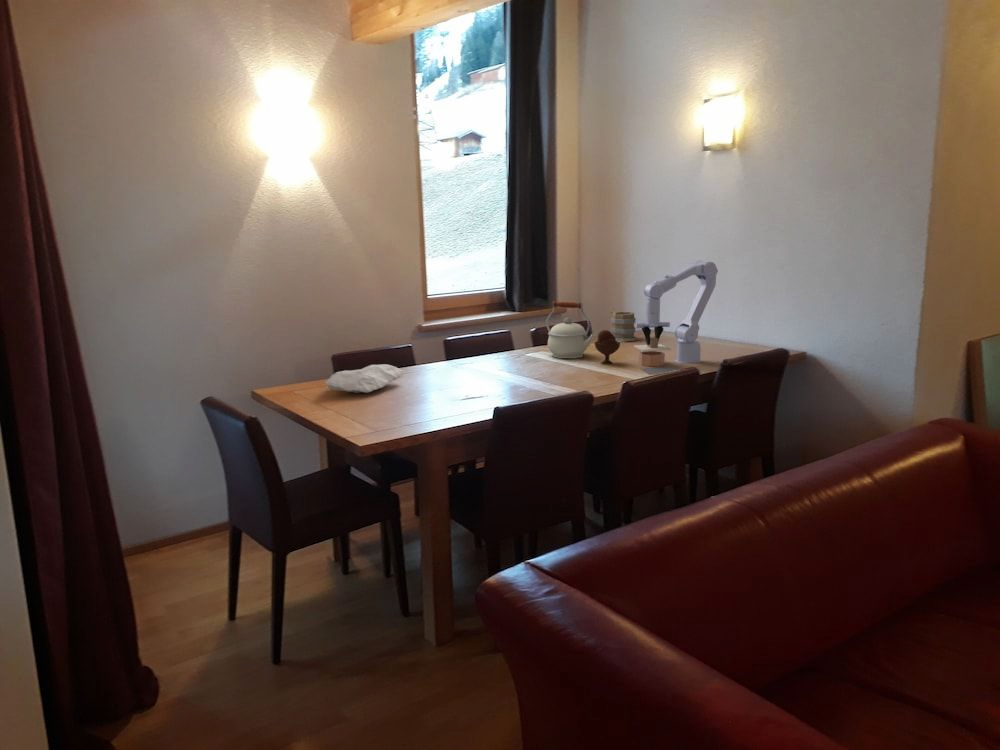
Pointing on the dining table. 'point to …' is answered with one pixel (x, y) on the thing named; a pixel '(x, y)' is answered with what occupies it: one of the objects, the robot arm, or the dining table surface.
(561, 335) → the kettle
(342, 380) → the crumpled cloth
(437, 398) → the dining table surface
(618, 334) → the tankard
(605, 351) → the ice cream bowl
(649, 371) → the mat
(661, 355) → the bowl
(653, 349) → the lid
